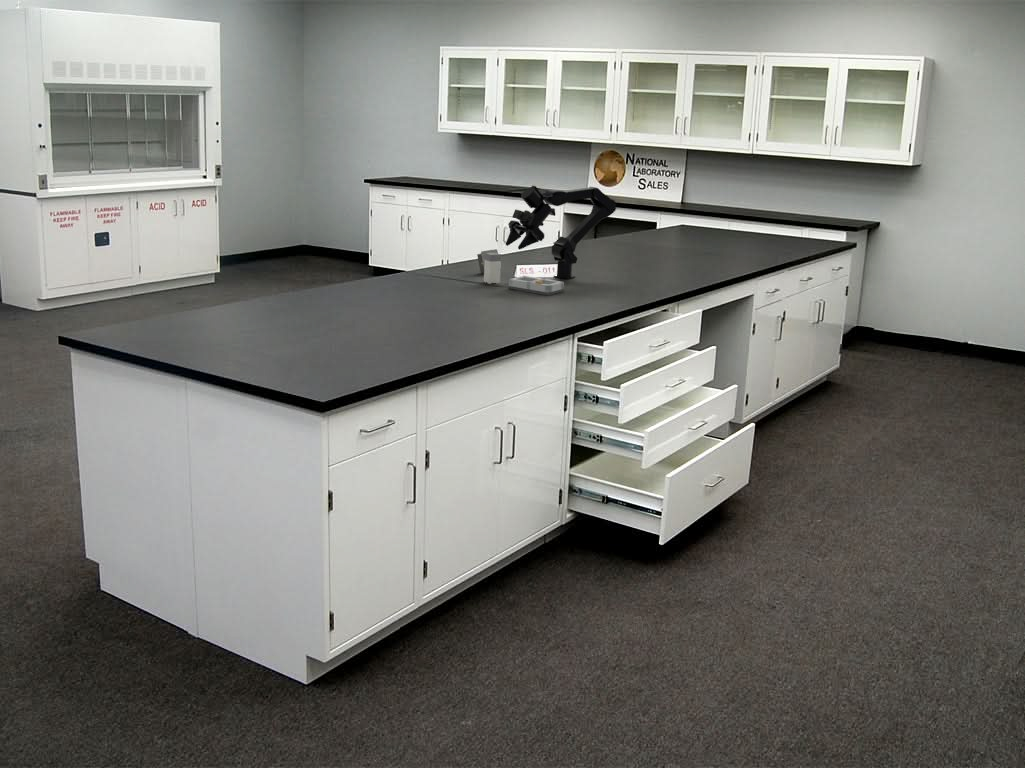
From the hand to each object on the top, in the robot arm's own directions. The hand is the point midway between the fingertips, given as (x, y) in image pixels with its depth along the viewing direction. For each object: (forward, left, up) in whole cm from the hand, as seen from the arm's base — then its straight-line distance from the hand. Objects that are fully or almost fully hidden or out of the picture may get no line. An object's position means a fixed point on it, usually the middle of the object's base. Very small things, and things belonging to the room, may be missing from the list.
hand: (512, 246), depth 386 cm
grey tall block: (+8, -4, -13) cm, 16 cm away
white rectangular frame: (+8, +16, -13) cm, 22 cm away
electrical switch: (-8, -17, -13) cm, 23 cm away
